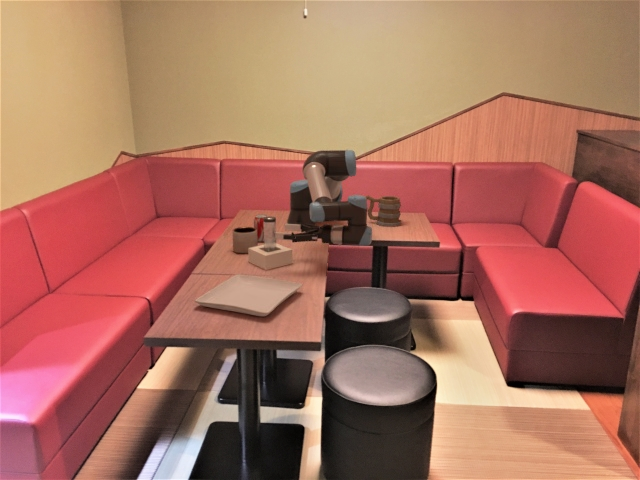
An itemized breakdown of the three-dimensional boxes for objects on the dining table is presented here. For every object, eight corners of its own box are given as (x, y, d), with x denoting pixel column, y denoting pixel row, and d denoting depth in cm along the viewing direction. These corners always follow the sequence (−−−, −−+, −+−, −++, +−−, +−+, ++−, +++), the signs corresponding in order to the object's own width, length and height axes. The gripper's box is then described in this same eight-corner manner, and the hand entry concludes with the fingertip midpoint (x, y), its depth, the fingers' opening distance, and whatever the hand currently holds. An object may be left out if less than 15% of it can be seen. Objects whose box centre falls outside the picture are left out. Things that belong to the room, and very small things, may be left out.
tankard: (401, 221, 283) (402, 194, 278) (400, 227, 271) (401, 199, 267) (364, 219, 287) (365, 192, 282) (361, 225, 275) (362, 197, 270)
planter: (228, 252, 229) (227, 231, 226) (240, 246, 239) (239, 225, 236) (250, 255, 225) (249, 233, 222) (261, 248, 235) (261, 227, 232)
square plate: (237, 282, 195) (236, 272, 193) (304, 293, 185) (304, 282, 183) (193, 309, 170) (193, 298, 169) (268, 323, 160) (267, 311, 159)
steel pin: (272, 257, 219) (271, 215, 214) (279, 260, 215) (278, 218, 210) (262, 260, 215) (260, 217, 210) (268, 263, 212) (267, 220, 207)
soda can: (266, 243, 243) (266, 218, 240) (252, 242, 244) (251, 217, 241) (271, 239, 249) (270, 214, 246) (257, 238, 251) (256, 213, 248)
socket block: (274, 255, 224) (274, 242, 222) (292, 263, 214) (292, 249, 213) (248, 261, 216) (248, 248, 215) (265, 270, 207) (265, 255, 205)
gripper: (326, 252, 195) (272, 249, 199) (337, 235, 219) (288, 232, 223) (326, 233, 193) (271, 230, 197) (338, 217, 217) (288, 215, 221)
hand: (280, 231), depth 210 cm, fingers open, 13 cm apart
